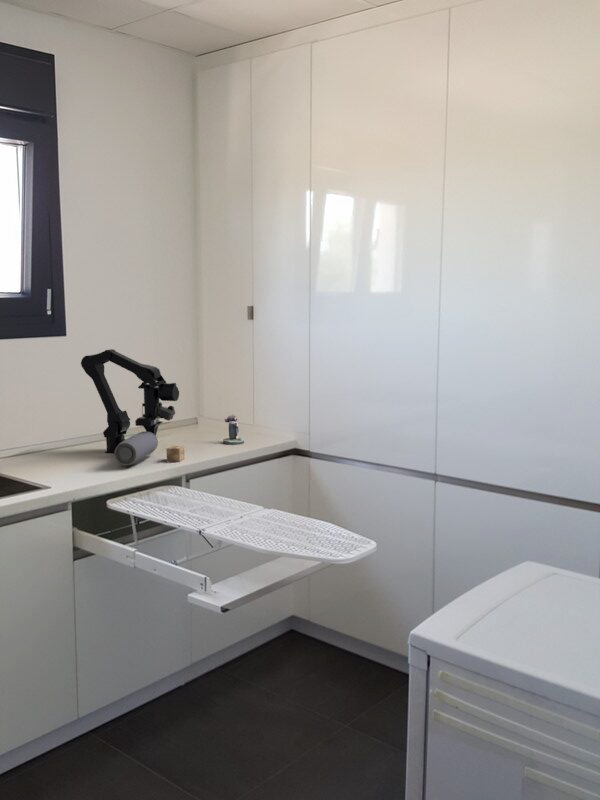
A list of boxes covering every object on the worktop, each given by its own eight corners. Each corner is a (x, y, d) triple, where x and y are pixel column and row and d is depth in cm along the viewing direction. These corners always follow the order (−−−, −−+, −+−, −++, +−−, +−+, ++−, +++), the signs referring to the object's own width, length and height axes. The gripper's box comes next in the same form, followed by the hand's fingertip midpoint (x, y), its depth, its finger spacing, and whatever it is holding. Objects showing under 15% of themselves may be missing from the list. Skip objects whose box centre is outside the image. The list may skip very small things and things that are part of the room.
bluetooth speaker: (136, 455, 303) (135, 429, 302) (159, 456, 302) (158, 430, 300) (112, 468, 281) (111, 440, 280) (138, 469, 280) (137, 441, 278)
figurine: (229, 445, 320) (228, 416, 318) (219, 442, 327) (218, 413, 325) (247, 443, 325) (247, 414, 323) (237, 440, 332) (237, 411, 330)
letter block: (166, 461, 292) (166, 448, 291) (171, 459, 296) (171, 445, 296) (179, 462, 291) (179, 448, 290) (184, 459, 295) (184, 445, 295)
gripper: (162, 404, 292) (163, 446, 295) (180, 397, 311) (181, 436, 313) (134, 403, 295) (135, 445, 297) (153, 396, 313) (154, 436, 315)
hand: (153, 440), depth 305 cm, fingers closed
